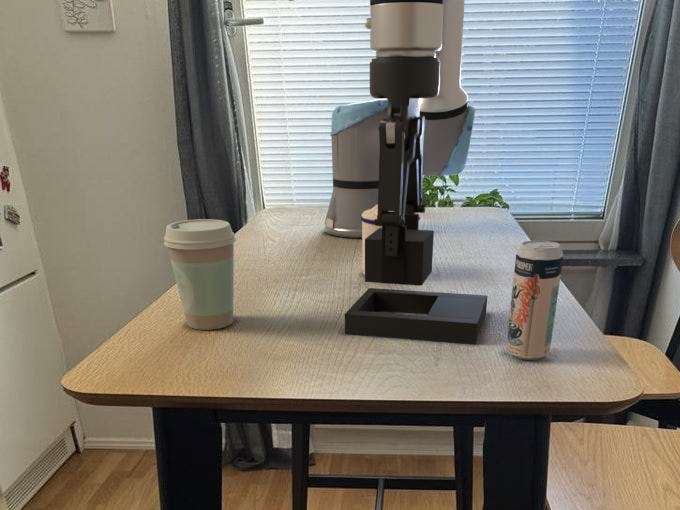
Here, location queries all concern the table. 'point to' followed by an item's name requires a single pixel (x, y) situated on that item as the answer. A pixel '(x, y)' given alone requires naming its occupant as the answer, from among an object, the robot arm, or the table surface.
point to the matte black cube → (416, 256)
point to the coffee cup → (203, 270)
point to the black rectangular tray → (439, 325)
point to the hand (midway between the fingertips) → (399, 274)
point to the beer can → (534, 299)
